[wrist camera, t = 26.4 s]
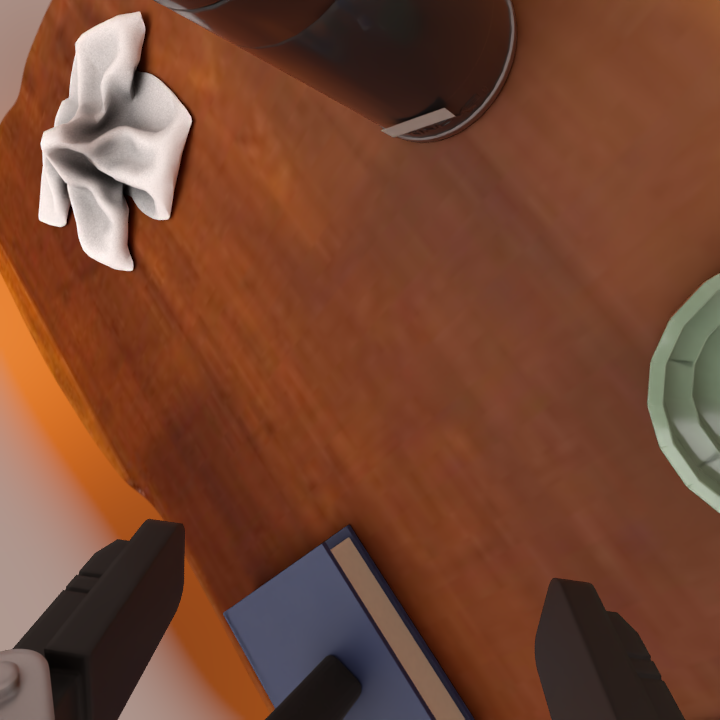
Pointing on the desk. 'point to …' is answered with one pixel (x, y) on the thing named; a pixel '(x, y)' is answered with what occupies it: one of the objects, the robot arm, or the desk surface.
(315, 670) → the walkie-talkie
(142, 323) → the desk surface
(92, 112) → the cloth
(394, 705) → the book
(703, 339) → the bowl
